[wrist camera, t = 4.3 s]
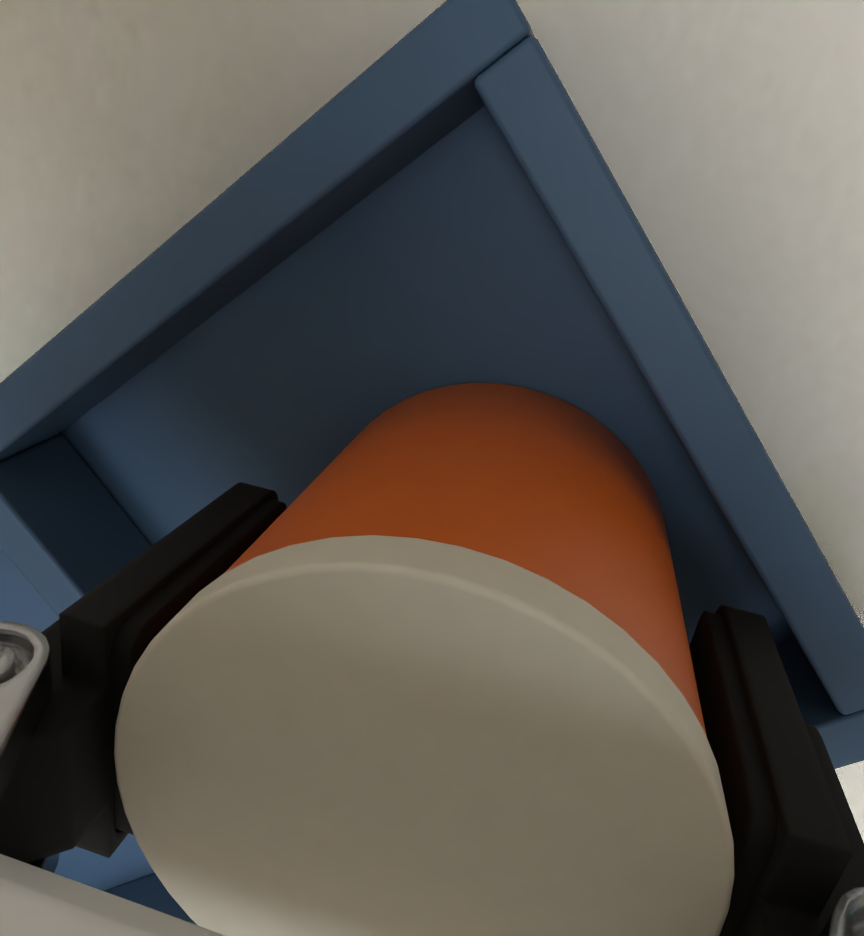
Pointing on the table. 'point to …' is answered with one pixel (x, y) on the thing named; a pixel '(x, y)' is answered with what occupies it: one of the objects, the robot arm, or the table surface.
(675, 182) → the table surface
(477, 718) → the food tub
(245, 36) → the table surface
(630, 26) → the table surface
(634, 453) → the blue divided tray
